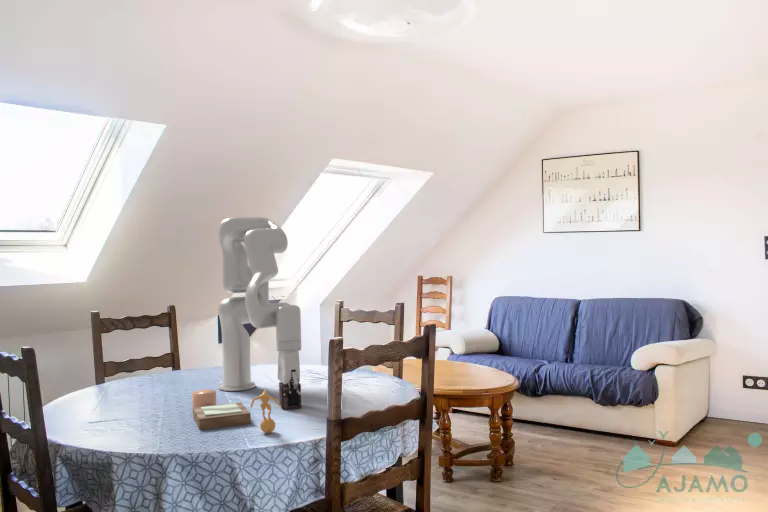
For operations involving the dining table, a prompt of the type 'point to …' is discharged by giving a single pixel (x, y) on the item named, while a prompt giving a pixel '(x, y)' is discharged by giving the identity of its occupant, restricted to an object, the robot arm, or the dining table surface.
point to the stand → (221, 416)
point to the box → (284, 396)
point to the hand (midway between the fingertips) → (290, 402)
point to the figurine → (267, 423)
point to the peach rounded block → (203, 398)
